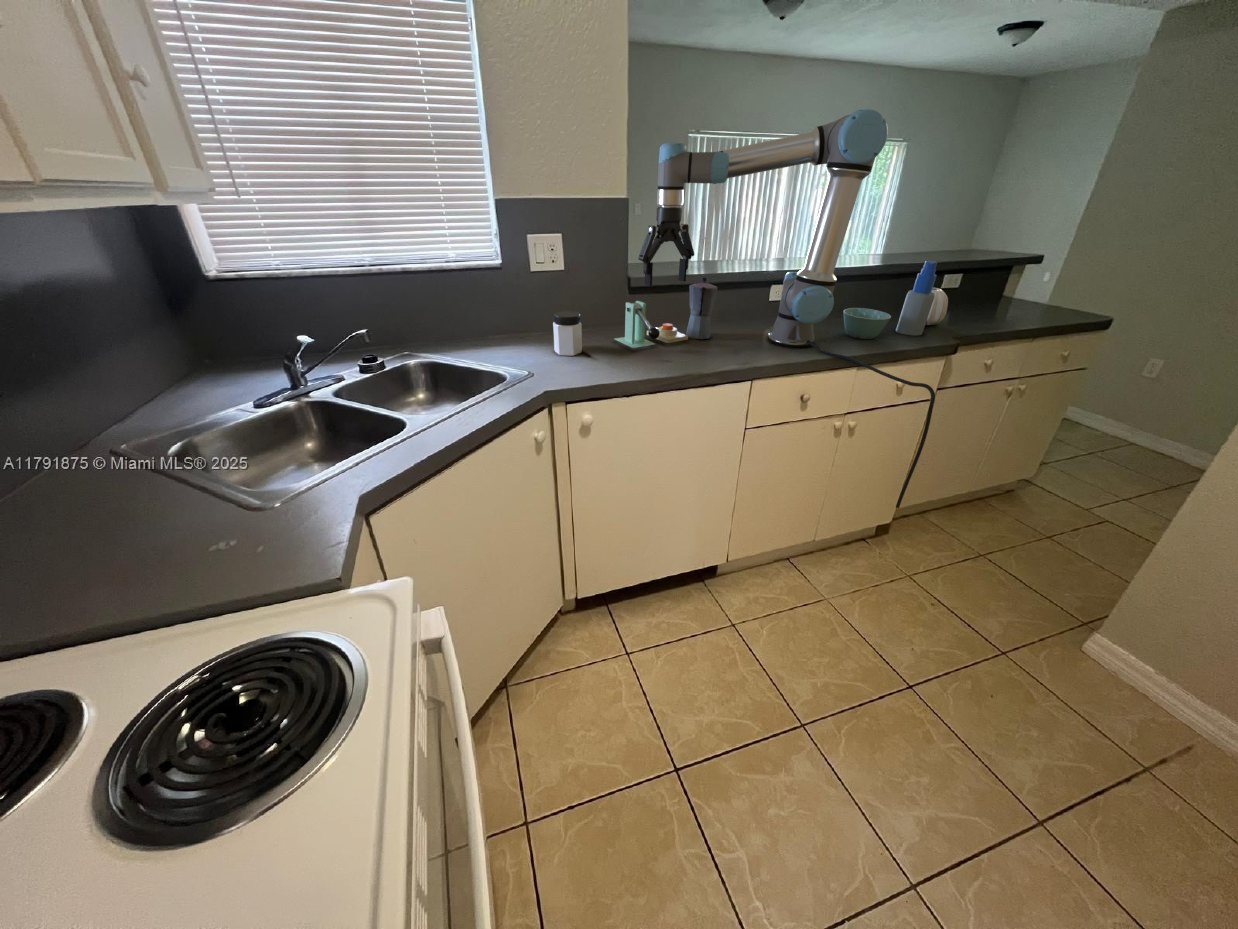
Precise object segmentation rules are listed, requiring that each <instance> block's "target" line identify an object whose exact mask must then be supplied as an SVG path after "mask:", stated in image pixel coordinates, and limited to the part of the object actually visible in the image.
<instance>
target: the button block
mask: <svg viewBox="0 0 1238 929" xmlns="http://www.w3.org/2000/svg"><path fill="white" fill-rule="evenodd" d="M657 328H658V329H659V331H660V335H659V337H658V338H656V339H655V340H658V341H660V342H663V343H665V344H671V343H677V342H683V341H688V340H689V337H688V336H687V335H686V333H682V332H680V331H678V328H677V327H675V326H673V330H663V329H662V326H659V327H657ZM648 332H649V330H646V336H649V335H648Z"/></svg>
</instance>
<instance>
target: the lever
mask: <svg viewBox="0 0 1238 929" xmlns="http://www.w3.org/2000/svg"><path fill="white" fill-rule="evenodd" d="M631 303H632V304H635V305H636V309H635V314H637V315H638V316H639V317H640V319H641V320H642V322H643V323H644V324H645V328H647V329H648V330H647V331H649V332H648V335H647V336H648V337H649V338H650V339H652V340H657V339H656V338H658V337H659V335H660V331H659V329H658V328H659V327H656V326H654V327H653V326H652V325H651V324H650V322H649V320H648V319H647V318H646V316H645V317H644V315H643V314H642V313H641V307H640V305H639V304H638V303H636V302H631Z"/></svg>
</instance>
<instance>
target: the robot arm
mask: <svg viewBox="0 0 1238 929" xmlns="http://www.w3.org/2000/svg"><path fill="white" fill-rule="evenodd" d="M888 127H889V126H888V123H887V121H886V118H885V117H884V115H883V114H881V113H880V112H879V111H877V110H875V109H866V108H865V109H859V110H856V111H853V112H851V113H850V114H847V115H844V116H842V117H840V118H838V119H836V120H834V121H831V122H828V123H826V124H823V125H817V126H814V127H813V128H812V130H811V131H809V132H805V133H799V134H795V135H791V136H790V135H789V136H786V137H781V138H776V139H770V140H767V141H762V142H761V141H760V142H757V143H752V144H747V145H742V146H738V147H733V148H729V149H723V150H718V151H696V152H694V151H693V152H692V151H688V149H687V144H685V143H682V142H680V143H679V142H665V143H662V144H661V145H660V147H659V153H658V162H657V163H658V164H657V167H658V168H657V194H656V197H657V198H656V205H657V208H656V215H655V216H656V217H655V218H656V219H655V220H656V222H657V223H656V226H655V225H648V226H647V232H646V236H645V238H644V241H643V243H642V246H641V249H640V252H639V254H638V256H637V259H638V261H641V262H642V263H643V268H642V269H643V271H642V272H643V274H644V285H645V286H649V287H652V286H653V270H654V269H653V266H654V262H652V260H653V259H654V258H655V256H656V254H657V252H658V251H659V249H660V247H661V246H662V244H664V243H668V242H673V243H674V245H675V247H676V249H677V251H678V253H679V254H680V256H681V258H679V267H678V278H677V279H678V281H680V282H687V270H688V269H689V262H690V261H689V260H691V259H692V257H694V256H695V250H694V247H693V243H692V239H691V236H690V232H689V227H690V226H689V224H687V223H681V222H682V219H683V207H682V206H683V205H684V192H685V191H684V189H685V184H713V185H717V184H725V183H726V181H727V180H728V179H732V178H738V177H743V176H748V175H749V176H750V175H754V174H758V173H764V172H769V171H774V170H780V169H784V168H789V167H795V166H801V165H804V164H811V165H812V166H821V165H826V166H825V171H826V173H827V175H828V181H827V184H826V188H825V191H824V195H823V199H822V201H821V205H820V209H819V213H818V216H817V219H816V223H815V227H814V231H813V235H812V238H811V241H810V245H809V249H808V252H807V256H806V259H805V263H804V267H803V268H802V269H801V270H799V271H788V272H787V273H786V274H785V275H784V279H783V281H782V282H783V283H782V289H781V295H780V301H779V307H778V313H777V316H776V319H775V321H774V323H773V325H772V327H771V329H770V331H769V333H768V337H767V340H768V342H770V343H772V344H773V345H776V346H781V347H785V348H795V349H802V348H808V347H813V348H814V349H816V350H817V351H819V352H820V353H823V354H824V355H827V356H831V357H834V358H839V359H842V360H847V361H848V362H852V363H854V364H857V365H859V366H861V367H863V368H865V369H868V370H870V371H873V372H875V373H877V374H879V375H881V376H884V377H886V378H888V379H890V380H893V381H896V382H899V383H901V384H904V385H907V386H910V387H920V388H925V389H926V390H927V391H928V392H929V394H930V401H929V404H928V405H929V406H928V410H927V414H926V419H925V420H926V421H925V424H924V429H923V432H922V435H921V439H920V442H919V445H918V448H917V451H916V454H915V457H914V459H913V461H912V464H911V466H910V469H909V471H908V474H907V476H906V478H905V480H904V483H903V486H902V489H901V491H900V494H899V496H898V498H897V501H896V505H895V508H896V509H900V506H901V504H902V501H903V498H904V495H905V493H906V490H907V488H908V485H909V483H910V481H911V478H912V476H913V473H914V471H915V469H916V466H917V464H918V462H919V459H920V456H921V454H922V451H923V448H924V446H925V442H926V440H927V436H928V432H929V429H930V425H931V421H932V414H933V409H934V405H935V403H936V402H935V401H936V393H935V390H934V388H933V387H932V386H931V385H929V384H927V383H923V382H913V381H909V380H906V379H903V378H900V377H899V376H895V375H894V374H893V375H892V374H891V373H888V372H885V371H883V370H880V369H878V368H876V367H874V366H872V365H870V364H868V363H865V362H863V361H860V360H858V359H856V358H853V357H850V356H847V355H843V354H840V353H835V352H831V351H828V350H825V349H823V348H822V347H821V346H819V345H817V344H816V343H814V342H815V333H814V332H815V331H814V324H815V325H816V324H818V323H821V322H822V321H824V320H825V319H826V318H828V316H830V314H831V312H832V311H833V308H834V305H835V297H834V294H833V293H834V290H835V287H836V284H837V280H838V279H837V277H836V275H835V273H834V272H835V269H836V266H837V263H838V260H839V257H840V253H841V250H842V246H843V244H844V241H845V236H846V234H847V231H848V227H849V224H850V220H851V217H852V214H853V211H854V209H855V208H854V207H855V204H856V202H857V199H858V195H859V192H860V189H861V185H862V183H863V180H865V178H867V177H868V176H869V175H871V172H872V171H873V170H872V169H873V167H874V164H875V160H876V157H878V156H879V155H880V153H881V152H882V150H883V149H884V147H885V146H886V143H887V140H888V136H889V128H888Z"/></svg>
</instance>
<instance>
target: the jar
mask: <svg viewBox="0 0 1238 929" xmlns="http://www.w3.org/2000/svg"><path fill="white" fill-rule="evenodd" d="M582 324H583V323H581V314H580V313H579V312H578V311H571V310H562V311H557V312H555V313H554V314H553V322H552V328H553V347H554V348H553V349H554V352H555V353H556V354H557V355H559V356H565V357H566V356H569V357H574V356H576V355H579V354H581V353H583V329H582V328H583V327H582V326H583V325H582Z"/></svg>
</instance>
